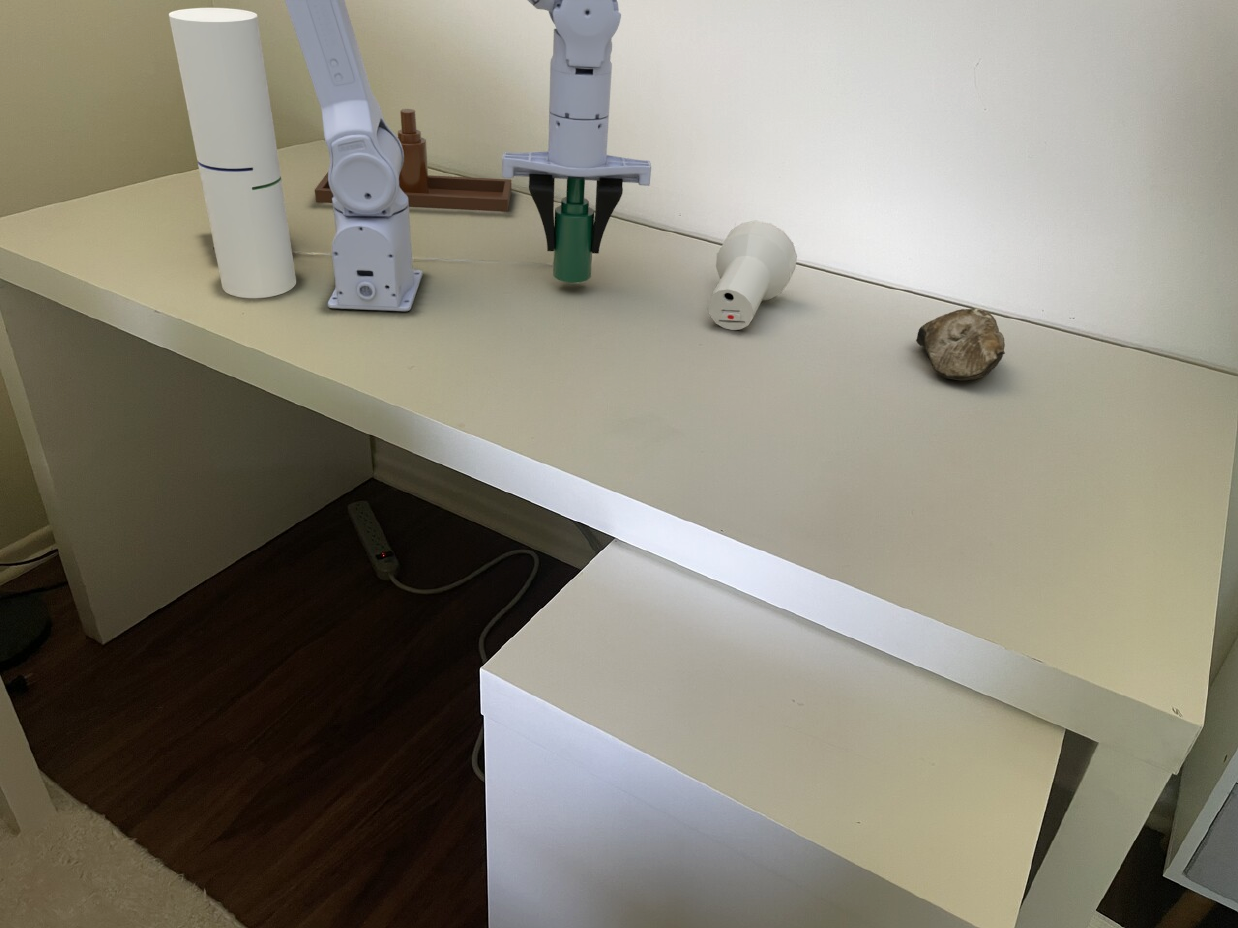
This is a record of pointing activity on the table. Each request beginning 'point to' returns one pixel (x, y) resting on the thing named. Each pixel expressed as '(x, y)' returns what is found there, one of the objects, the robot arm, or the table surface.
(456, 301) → the table surface
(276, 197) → the cylindrical container
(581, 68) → the robot arm
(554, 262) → the green bottle
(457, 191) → the tray
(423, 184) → the brown bottle
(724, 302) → the spotlight
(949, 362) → the fossilized seashell
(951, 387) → the table surface
